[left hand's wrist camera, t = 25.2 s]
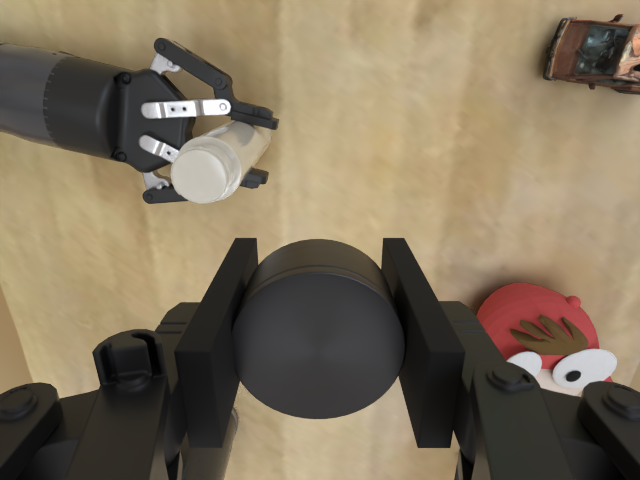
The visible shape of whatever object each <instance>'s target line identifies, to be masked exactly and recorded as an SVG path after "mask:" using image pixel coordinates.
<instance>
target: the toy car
mask: <svg viewBox="0 0 640 480" xmlns="http://www.w3.org/2000/svg"><path fill="white" fill-rule="evenodd" d="M622 17H623V14H618V15H617V16H615V18H614V19H613V20H611V21H608V22H602V21H592V20H576V19H577V17H575V18H573V17H569V18H563V19H562V20H561V21H560V23H559V25H558V28H557V30H556V33H555V35H554V37H553V39H552V42H551V45H550V47H548V48H547V50H546V53H547V54H548V55H547V58H546V64H545V68H544V72H543V78H544V79H545V80H550V81H551V80H554V81H555V80H556V79H559V80H565V81H567V82H575V83H582V84H588V85H589V88H590V89H595V86H596V85H598V86H606V87H611V88H612V89H615V90H616V91H618V92H619V93H626V94H640V24H636V25H632V24H620V23H617V22H619V21H620V20H621V19H622Z"/></svg>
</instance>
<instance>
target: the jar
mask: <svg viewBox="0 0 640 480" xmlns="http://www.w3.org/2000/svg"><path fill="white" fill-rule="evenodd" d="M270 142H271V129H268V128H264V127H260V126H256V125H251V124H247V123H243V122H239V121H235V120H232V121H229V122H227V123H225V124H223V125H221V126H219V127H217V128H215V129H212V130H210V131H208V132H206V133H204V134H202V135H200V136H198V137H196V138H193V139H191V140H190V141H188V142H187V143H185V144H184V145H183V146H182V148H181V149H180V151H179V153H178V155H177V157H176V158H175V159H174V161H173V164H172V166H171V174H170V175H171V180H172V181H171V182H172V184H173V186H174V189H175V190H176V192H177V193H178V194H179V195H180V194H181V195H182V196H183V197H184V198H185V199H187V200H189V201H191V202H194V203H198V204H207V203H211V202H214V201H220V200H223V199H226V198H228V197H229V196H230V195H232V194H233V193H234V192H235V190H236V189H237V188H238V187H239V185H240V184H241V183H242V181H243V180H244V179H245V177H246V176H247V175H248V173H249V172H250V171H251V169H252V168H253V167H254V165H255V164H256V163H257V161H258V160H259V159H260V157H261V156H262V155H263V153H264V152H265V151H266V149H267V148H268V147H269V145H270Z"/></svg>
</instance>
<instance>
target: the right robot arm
mask: <svg viewBox="0 0 640 480" xmlns="http://www.w3.org/2000/svg"><path fill="white" fill-rule="evenodd" d="M154 48H155V51H156V54H155V57H154V59H153V62H152V64H151V66H150V69H142V70H139V71H132V70H128V69H124V68H120V67H116V66H112V65H108V64H104V63H100V62H96V61H92V60H88V59H84V58H80V57H75V56H73V55H71V54H68V53H65V52H55V51H51V50H47V49H42V48H37V47H28V46H19V45H14V44H9V43H5V42H1V41H0V132H5V133H8V134H12V135H15V136H17V137H20V138H23V139H25V140H28V141H32V142H35V143H39V144H44V145H48V146H52V147H57V148H61V149H66V150H70V151H74V152H79V153H83V154H88V155H92V156H97V157H101V158H105V159H110V160H114V161H119V162H124V163H127V164H129V165H131V166H132V167H134V168H135V169H136V170H137V171H139V172H142V173H143V177H144V181H145V185H146V189H147V191H145V192H144V193H143V199H144V201H145V202H147V203H149V204H154V203H167V202H179V201H189V200H187V199H185V198H184V197H183V196H182V195H181V194H180V195H179V194H178V193H177V192H176V190H175V189H174V186H173V184H172V182H171V181H172V180H171V179H170V178H169V177H167V176H162V175H160V174H159V173H158V172H157V169H159V168H162V167H164V166H166V165H168V164H171V163H173V161H174V159H175V158H176V157H177V155H178V153H179V151H180V149H181V148H182V146H183V145H184V144H185V143H187V142H188V141H190V140H191V139H193V136H192V129H193V126H194V124H195V119H196V116H207V115H227V116H231V120H235V121H239V122H243V123H247V124H251V125H256V126H260V127H264V128H268V129H273V130H276V129H277V128H278V123H279V119H276V118H272V117H273V112H272V111H271V110H270V109H268V108H265V107H260V106H256V105H252V104H248V103H244V102H240V101H238V100H237V99H236V98H235V97H234V95H233V90H232V78H231V77H230V76H229V75H228V74H226V73H225V72H223V71H221V70H220V69H218V68H217V67H215V66H213V65H212V64H210V63H209V62H207V61H205V60H204V59H202V58H201V57H199V56H197V55H196V54H194V53H193V52H191V51H189V50H188V49H186V48H185V47H183V46H181V45H180V44H178V43H177V42H175V41H172V40H168V39H164V38H158V39H157V40H156V41H155V43H154ZM183 69H184V70H186V71H187V72H189V73H190V74H192V75H194V76H195V77H197V78H199V79H200V80H202V81H203V82H205V83H207V84H208V85H210V86H212V87H213V89H214V94H215V98H206V99H187V98H186V97H185V96H184V95H183V94H182V93H181V92H180V91H179V90H178V89H177V88H176V87H175V86H174V85H173V83H172V82H171V81H170V80H169V79H168V78H167V77H166V76H165V73H166V72H167V71H170V72H177V73H178V72H181V71H182V70H183ZM268 174H269V172H267V171H263V170H259V169H255V168H252V169H251V171H250V172H249V173H248V175H247V176H246V177H245V179H244V180H243V181H242V183H241V184H240V185H239V186H242V187H247V188H251V189H253V188H258V186H259V185H260V184H266V182H267V180H268ZM237 427H238V417H237V414H236V412H235V410H234V409H233V408H232V412H231V416H230V420H229V423H228V427H227V431H226V435H225V438H224V442H223V446H222V448H190V447H189V441H188V435H187V432H186V434H185V437H184V439H183V442H182V445H181V447H180V450H181V456H182V462H183V467H182V477H181V480H224V477H225V473H226V469H227V465H228V460H229V456H230V452H231V448H232V444H233V440H234V436H235V434H236V431H237Z"/></svg>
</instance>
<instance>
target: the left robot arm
mask: <svg viewBox="0 0 640 480" xmlns="http://www.w3.org/2000/svg"><path fill="white" fill-rule="evenodd" d="M257 266H258V253H257V238H235V240H234V242H233V244H232V246H231V248H230V249H229V251H228V253H227V255H226V257H225V259H224V260H223V262H222V264H221V266H220V268H219V270H218V271H217V273H216V275H215V277H214V279H213V281H212V282H211V284H210V286H209V288H208V290H207V292H206V293H205V295H204V297H203V299H202V301H201V302H181V303H179V304H178V305H177V306H175V307H174V308H172V309H171V310H169V311H168V312H167V314H166V315H165V317H164V318H163V320H162V321H161V323H160V325H159V326H158V327H157V329H156V330H155V331H151V330H147V329H134V330H129V331H125V332H120V333H118V334H116V335H113V336H111V337H108V338H107V339H106V340H104V341H103V342H101V343H100V344H98V346H97V347H96V348H95V349H94V351H93V352H92V353H93V357H94V361H95V365H96V369H97V373H98V377H99V381H100V388H99V389H98V390H95V391H91V392H88V393H83V394H79V395H74V396H70V397H65V398H61V399H59V396H58V393H57V390H56V388H54V387H53V386H52V385H51V384H46V383H31V384H25V385H22V386H19V387H15V388H13V389H10V390H8V391H6V392H4V393H2V394H0V480H181V477H182V467H183V462H182V456H181V450H180V447H181V445H182V442H183V439H184V437H185V434H186V432H187V435H188V441H189V447H190V448H222V446H223V442H224V438H225V435H226V431H227V427H228V423H229V420H230V416H231V412H232V408H233V405H234V401H235V397H236V394H237V390H238V386H239V382H240V379H239V378H238V376H237V374H236V372H235V366H234V355H233V345H232V334H231V328H232V325H233V323H234V320H235V317H236V314H237V312H238V309H239V306H240V303H241V301H242V298H243V295H244V292H245V290H246V287H247V284H248V281H249V279H250V277H251V275H252V273H253V272H254V270H255V269H256V268H257ZM381 270H382V272H383V274H384V275H385V277H386V279H387V282H388V284H389V287H390V289H391V292H392V295H393V298H394V301H395V304H396V307H397V310H398V313H399V316H400V319H401V322H402V324H403V328H404V332H405V338H406V353H405V358H404V363H403V366H402V368H401V371H400V373H399V375H398V376H399V380H400V383H401V387H402V391H403V394H404V398H405V402H406V406H407V409H408V413H409V417H410V421H411V424H412V428H413V432H414V435H415V439H416V443H417V447H418V448H450V446H451V440H452V434H453V430H454V433H455V435H456V438H457V441H458V443H459V446H460V450H459V456H458V461H457V467H456V473H455V479H454V480H640V392H638V391H636V390H634V389H632V388H630V387H627V386H624V385H621V384H618V383H614V382H607V381H596V382H590V383H589V384H587V385H586V386H585V387H584V389H583V392H582V395H581V397H578V396H573V395H569V394H564V393H559V392H555V391H551V390H547V389H544V388H541V387H540V384H539V383H538V381H537V380H536V379H535V377H534V376H533V375H532V374H531V373H529V372H528V371H527V370H525V369H524V368H522V367H520V366H518V365H516V364H513V363H510V362H507V361H506V360H505V359H504V357H503V356H502V354H501V353H500V351H499V350H498V348H497V347H496V345H495V344H494V342H493V341H492V339H491V338H490V336H489V335H488V333H486V330H485V329H484V327H483V326H482V324H481V323H480V321H479V320H478V318H477V317H476V315H475V314H474V312H473V311H472V310H471V309H469V308H468V307H467V306H465V305H464V304H462V303H461V302H459V301H438V299H437V298H436V296H435V294H434V292H433V290H432V288H431V287H430V285H429V283H428V281H427V279H426V277H425V276H424V274H423V272H422V270H421V268H420V266H419V265H418V263H417V261H416V259H415V257H414V255H413V253H412V252H411V250H410V248H409V246H408V244H407V242H406V241H405V239H404V238H383V250H382V266H381Z"/></svg>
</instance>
